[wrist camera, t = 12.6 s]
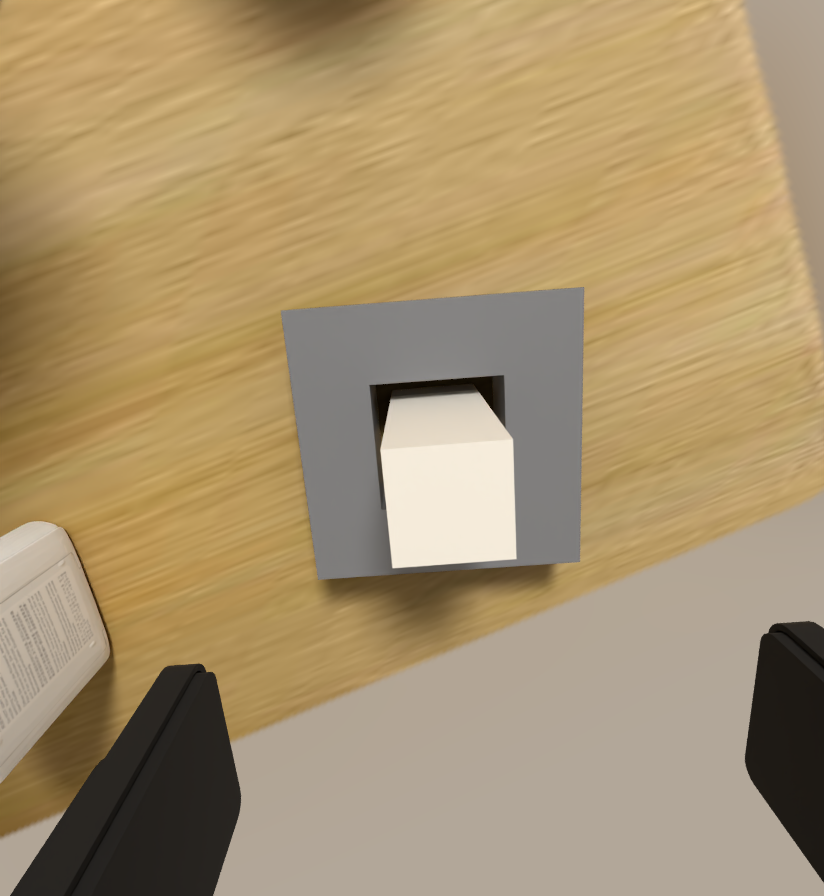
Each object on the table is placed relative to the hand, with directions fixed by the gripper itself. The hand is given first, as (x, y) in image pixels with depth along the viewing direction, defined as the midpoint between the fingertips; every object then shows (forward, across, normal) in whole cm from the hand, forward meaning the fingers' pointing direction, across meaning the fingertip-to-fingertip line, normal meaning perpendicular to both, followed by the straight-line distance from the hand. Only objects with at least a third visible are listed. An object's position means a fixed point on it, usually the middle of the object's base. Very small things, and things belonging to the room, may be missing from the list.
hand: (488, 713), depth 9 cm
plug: (+22, 0, 0) cm, 22 cm away
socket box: (+22, 0, 0) cm, 22 cm away
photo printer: (+22, +24, +9) cm, 34 cm away
